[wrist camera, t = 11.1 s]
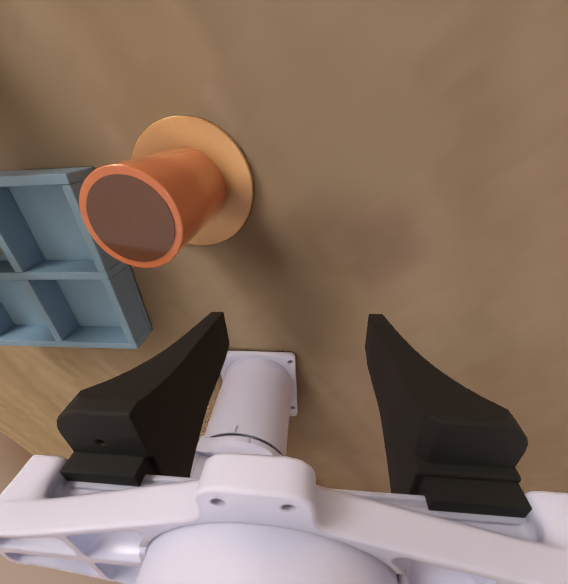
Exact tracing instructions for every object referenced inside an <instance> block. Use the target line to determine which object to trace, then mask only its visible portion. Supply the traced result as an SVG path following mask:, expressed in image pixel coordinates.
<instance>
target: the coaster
mask: <svg viewBox="0 0 568 584" xmlns="http://www.w3.org/2000/svg"><path fill="white" fill-rule="evenodd" d="M180 147H188V148H193V149H196V150H198V151H201V152H202V153H204V154H206V155H207V156H208V157H209V158H211V159H212V160H213V161H214V163H215V164H216V165H217V166H218V168H219V170H220V171H221V174H222V176H223V179H224V182H225V188H226V196H225V201H224V204H223V206H222V208H221V210H220V211H219V213H218V214H217V215H216V216H215V217H214V218H213V219H212V220H211V221H210V222H209V223H208V224H207V225H206V226H205V227H204V228H203V229H202V230H201V231H200V232H199V233H198V234H197V235H196V236H195V237H194V238H193V239H192V240H191V241H190V242H189V243H188V244H193V245H213V244H217V243H220V242H223V241H225V240H227V239H229V238H230V237H232V236H233V235H234V234H236V233H237V232H238V231H239V230H240V229H241V227H242V226H243V224H244V223H245V222H246V220H247V218H248V216H249V214H250V211H251V208H252V203H253V196H254V186H253V179H252V174H251V170H250V167H249V165H248V162H247V160H246V158H245V156H244V154H243V152H242V151H241V149H240V148H239V147H238V145H237V144H236V142H235V141H234V140H233V139H232V138H231V137H230V136H229V135H228V134H227V133H225V132H224V131H223V130H222V129H220V128H219V127H217V126H216V125H214V124H212V123H210V122H208V121H206V120H204V119H201V118H197V117H192V116H171V117H167V118H164V119H161V120H159V121H157V122H155V123H153V124H152V125H151V126H149V127H148V128H147V129H146V130H145V131H144V132H143V133H142V134H141V136H140V137H139V139H138V141H137V143H136V145H135V147H134V150H133V154H132V159H133V158H137V157H142V156H146V155H150V154H154V153H158V152H162V151H166V150H170V149H174V148H180Z"/></svg>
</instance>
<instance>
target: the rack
mask: <svg viewBox="0 0 568 584" xmlns="http://www.w3.org/2000/svg"><path fill="white" fill-rule="evenodd" d="M94 170H95V169H94V167H77V168H55V169H33V170H11V171H0V247H1V249H2V251H3V252H4V254H2V255H0V345H10V346H47V347H84V348H121V349H138V348H139V347H140V345H141V344H142V343H143V341H144V340H145V339H146V337H147V336H148V335H149V333H150V332H151V331H152V327H151V324H150V321H149V319H148V316H147V313H146V310H145V307H144V305H143V302H142V299H141V296H140V294H139V291H138V288H137V285H136V283H135V280H134V277H133V274H132V272H131V269H130V266H129V265H128V264H126V263H123V262H121V261H119V260H117V259H115V258H114V257H112V256H111V255H109V254H108V253H107V252H106V251H104V250H103V249H102V248H101V247H100V246H99V245H98V244H97V243H96V241H95V240H94V239H93V238H92V236H91V235H90V233H89V232H88V230H87V228H86V226H85V224H84V222H83V219H82V216H81V212H80V206H79V195H80V190H81V187H82V184H83V182H84V181H85V179H86V178H87V176H88V175H89V174H90V173H91V172H93V171H94Z"/></svg>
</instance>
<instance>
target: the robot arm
mask: <svg viewBox="0 0 568 584" xmlns="http://www.w3.org/2000/svg"><path fill="white" fill-rule="evenodd" d="M228 347H229V339H228V334H227V328H226V323H225V318H224V313H223V312H211V313H210V314H209V315H208V316H206V317H205V318H204V319H203V320H202V321H201V322H199V323H198V324H197V325H196V326H195V327H194V328H192V329H191V330H190V331H189V332H188V333H187V334H185V335H184V336H183V337H181V338H180V339H179V340H178V341H176V342H175V343H174V344H172V345H171V346H170V347H168V348H167V349H165V350H164V351H162V352H161V353H159V354H158V355H156V356H155V357H153V358H151V359H150V360H148V361H146V362H144V363H143V364H141V365H139V366H137V367H135V368H133V369H132V370H130V371H128V372H125V373H123V374H121V375H119V376H117V377H115V378H112V379H110V380H108V381H105V382H103V383H100V384H97V385H95V386H92V387H90V388H87V389H84V390H81V391H80V392H79V393H78V394H77V395H76V397H75V398H74V399H73V400H72V401H71V402H70V404H69V405H68V406H67V407H66V408H65V409H64V411H63V412H62V413H61V414H60V415H59V417H58V419H57V427H58V430H59V431H60V433H61V435H62V436H63V437H64V439H65V440H66V441H67V443H68V444H69V445H70V447H71V448H72V450H73V451H74V452H73V454H72V455H71V457H70V458H69V459H68V460H67V459H66V458H64V457H60V456H50V455H33V456H32V457H31V459H30V460H29V461H28V462H27V463H26V465H25V466H24V467H23V468H22V469H21V471H20V472H19V473H18V474H17V475H16V477H15V478H14V479H13V480H12V482H11V483H10V484H9V485H8V486H7V487H6V489H5V490H4V491H3V492H2V494H1V495H0V554H1V555H2V556H4V557H5V558H7V559H8V560H9V561H11V562H13V563H20V564H27V565H35V566H41V567H46V568H52V569H58V570H63V571H68V572H72V573H78V574H82V575H86V576H91V577H96V578H100V579H104V580H109V581H113V582H118V583H122V584H568V493H564V492H550V491H530V492H526V493H525V494H524V493H523V491H522V489H521V487H520V485H519V484H518V482H519V483H520V481H521V477H520V475H519V474H518V472H517V470H516V468H515V466H516V465H517V463H518V462H519V460H520V459H521V457H522V456H523V454H524V453H525V451H526V448H527V446H528V440H527V437H526V435H525V434H524V432H523V431H522V429H521V427H520V426H519V424H518V423H517V421H516V420H515V418H514V417H513V416H512V414H511V413H510V412H509V410H508V409H506V408H503V407H501V406H499V405H497V404H495V403H493V402H491V401H489V400H487V399H485V398H483V397H481V396H479V395H478V394H476V393H474V392H472V391H471V390H469V389H467V388H465V387H464V386H462V385H461V384H459V383H457V382H456V381H454V380H453V379H451V378H450V377H448V376H447V375H445V374H444V373H442V372H441V371H440V370H438V369H437V368H436V367H434V366H433V365H432V364H431V363H429V362H428V361H427V360H426V359H424V358H423V357H422V356H421V355H420V354H419V353H418V352H417V351H415V350H414V349H413V348H412V347H411V346H410V345H409V344H408V343H407V342H406V341H405V339H404V338H403V337H402V336H401V335H400V334H399V333H398V332H397V331H396V330H395V329H394V327H393V326H392V325H391V324H390V323H389V322H388V320H387V319H386V318H385V317H384V316H383V315H382V314H369V318H368V327H367V335H366V343H365V350H366V358H367V365H368V369H369V373H370V376H371V380H372V384H373V388H374V391H375V395H376V399H377V403H378V406H379V411H380V416H381V422H382V428H383V435H384V441H385V448H386V455H387V463H388V471H389V478H390V487H391V493H382V492H369V491H356V490H343V489H330V488H327V487H323V486H319V485H316V474H315V472H314V470H313V468H312V467H311V466H310V465H309V464H307V463H306V462H304V461H302V460H301V459H296V458H292V457H286V449H287V437H288V426H289V416H296V415H297V413H298V408H297V385H296V363H295V354H294V353H291V352H259V351H228ZM289 360H291V361H289ZM220 373H221V376H222V380H223V383H222V385H221V388H220V391H219V394H218V397H217V400H216V403H215V405H214V408H213V411H212V414H211V417H210V420H209V423H208V425H207V428H206V431H205V434H204V437H203V436H201V437H200V440H199V443H198V439H199V435H200V432H201V428H202V424H203V420H204V417H205V413H206V410H207V406H208V403H209V400H210V398H211V395H212V393H213V390H214V388H215V385H216V383H217V380H218V378H219V375H220ZM197 443H198V446H197ZM196 447H197V448H196Z"/></svg>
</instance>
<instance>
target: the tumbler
mask: <svg viewBox="0 0 568 584" xmlns="http://www.w3.org/2000/svg"><path fill="white" fill-rule="evenodd" d="M225 196H226V188H225V182H224V179H223V176H222V174H221V171H220V170H219V168H218V166H217V165H216V164H215V163H214V161H213V160H212V159H211V158H209V157H208V156H207V155H206V154H204V153H202V152H201V151H198V150H196V149H193V148H188V147H180V148H174V149H170V150H166V151H162V152H158V153H154V154H150V155H146V156H142V157H137V158H133V159H129V160H125V161H121V162H117V163H113V164H109V165H105V166H102V167H99V168H97V169H95V170H94V171H93V172H91V173H90V174H89V175H88V176H87V178H86V179H85V181H84V182H83V184H82V187H81V190H80V195H79V206H80V212H81V216H82V219H83V222H84V224H85V226H86V228H87V230H88V232H89V233H90V235H91V236H92V238H93V239H94V240H95V241H96V243H97V244H98V245H99V246H100V247H101V248H102V249H103V250H104V251H106V252H107V253H108V254H109V255H111V256H112V257H114V258H115V259H117V260H119V261H121V262H123V263H126V264H128V265H131V266H135V267H140V268H153V267H158V266H161V265H164V264H166V263H168V262H169V261H170V260H172V259H173V258H174V257H175V256H176V255H177V254H178V253H179V252H180V251H181V250H182V249H183V248H184V247H185V246H186V245H187V244H188V243H189V242H190V241H191V240H192V239H193V238H194V237H195V236H196V235H197V234H198V233H199V232H200V231H201V230H202V229H203V228H204V227H205V226H206V225H207V224H208V223H209V222H210V221H211V220H212V219H213V218H214V217H215V216H216V215H217V214H218V213H219V211H220V210H221V208H222V206H223V204H224V201H225Z"/></svg>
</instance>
